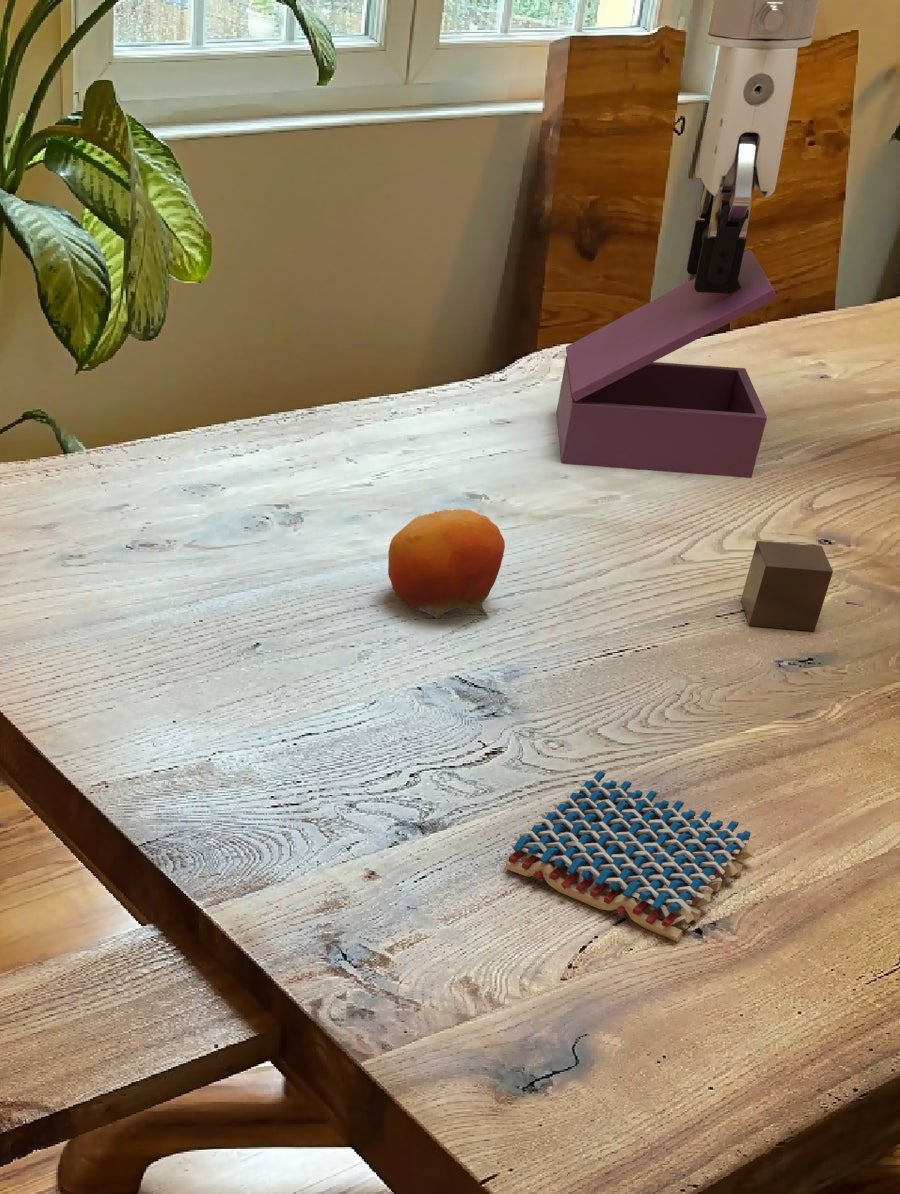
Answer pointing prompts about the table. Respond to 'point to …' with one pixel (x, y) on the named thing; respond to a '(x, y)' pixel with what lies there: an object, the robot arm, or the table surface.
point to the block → (786, 586)
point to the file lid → (662, 328)
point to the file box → (665, 421)
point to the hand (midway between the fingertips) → (710, 280)
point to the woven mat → (630, 854)
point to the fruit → (445, 561)
